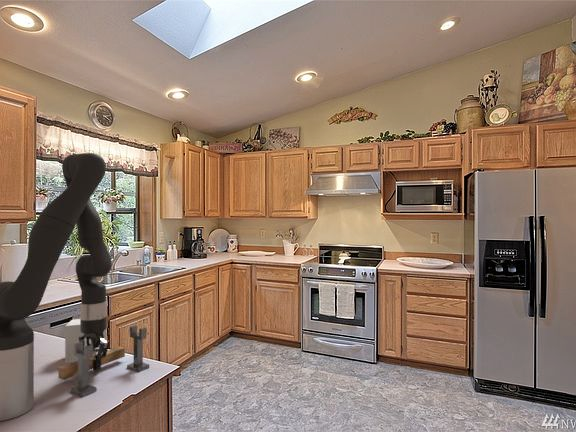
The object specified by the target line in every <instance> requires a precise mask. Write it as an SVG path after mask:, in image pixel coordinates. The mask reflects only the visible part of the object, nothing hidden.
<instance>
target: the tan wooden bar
mask: <svg viewBox="0 0 576 432" xmlns="http://www.w3.org/2000/svg"><path fill="white" fill-rule="evenodd" d="M102 354H103V353H102ZM96 355H97V353H96ZM124 357H126V348H125V347H122V346H116V347H114V348H111V349H108V350H107V354H106V356H105V357H103V358H101V367H102V366H103V365H106V364H109V363H111V362H114V361H117V360H119V359H122V358H124ZM91 370H93V357H92V358H90V359H89V371H91ZM57 376H58V379H61V380H63V381H64V380H67V379H70V378H73V377H75V376H78V361H76V362H72V363H67V364H65V365H63V366H60V367H58V375H57Z"/></svg>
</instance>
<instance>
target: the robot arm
mask: <svg viewBox="0 0 576 432" xmlns="http://www.w3.org/2000/svg"><path fill="white" fill-rule="evenodd" d="M61 168H62V169H61V170H62V175H63V179H64V181H65V185H66V188H65V189H64V190H63V192H62V193H60V194H59V195H57V197H55V199H53V200H52V201H51V202H50V203H49V204H47V205H46V206H45V207H44V208H43V209H42V211H41V212H40V213H39V215H38V217H37V218H36V220H35V222H34V224H33V225H32V227H31V229H30V232H29V235H28V240H27V241H28V242H27V243H28V244H27V256H26V257H27V258H26V261H25V263H24V265H23V268H22V269H21V271H20V273H19V274H18V276H17V277H16V279H15V280H14V281H1V282H0V422H1V421H7V420H11V419H15V418H17V417H20V416H22V415H24V414H26V413H27V412H29V411H31V410H32V409H33V407H34V405H35V404H34V403H35V401H34V399H35V395H34V394H35V393H34V392H35V391H34V390H35V389H34V385H35V382H34V381H35V380H34V379H35V377H34V375H35V374H34V373H35V372H34V369H35V365H34V364H35V363H34V362H35V361H34V360H35V358H34V357H35V356H34V354H35V346H34V345H35V333H34V330H33V329H32V327H30V326H29V324H27V321H26V319H27V318H28V317H30V316H31V315H34V313H35V311H36V310H37V309H38V308H39V306H40V304H41V302H42V300H43V297H44V294H45V291H46V289H47V287H48V284H49V281H50V278H51V277H52V276H51V275H52V273H53V272H54V269H55V267H56V265H57V263H58V261H59V259H60V257H61V255H62V252H63V251H64V248H65V246H66V245H67V243H68V242H69V239H70V237H71V235H72V233H73V232H74V229H75V228H76V230H77V239H78V240H77V241H78V244H79V247H80V248H82V249H84V250H86V251H88V253H89V254H83V255H81V256H80V257H79V258H78V259H77V262H76V264H75V275H76V278H77V281H78V285H79V288H80V290H81V300H80V301H81V303H80V304H81V305H80V314H79V317H80V318H79V319H80V331H81V333H84V335H83V336H80V337H79V342H83V351H84V347H85V346H88V345H93V369H92V371H93V372H98V371H100V370H101V369H102V366H101V358H103V357H105V356H106V354H107V351H108V350H109V346H110V344H111V342H110V340H105V335H104V331H105V330H107V328H108V322H107V321H108V306H107V287H106V284H104V283H102V282H99V280H98V279H97V277H98V278H101V277H105V276H107V275H109V274H110V272H111V269H112V257H111V254H110V252H109V250H108V247H107V245H106V243H105V241H104V232H103V231H104V230H103V224H102V220H101V217H100V214H99V213H98V211H97V209H96V207H95V206H94V203H93V202H92V200H91V197H92V195H93V194H94V192H95V191H96V189H97V188H98V187H99V185H100V184H101V182H102V180H103V179H104V177H105V174H106V169H107V164H106V161H105V159H104V158H103V157H102V155H100V154H98V153H93V152H84V153H74V154H69V155H67V156H66V157H65V158H64V159H63V161H62V166H61ZM102 353H103V354H102ZM96 354H97V355H96Z"/></svg>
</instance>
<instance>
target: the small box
mask: <svg viewBox="0 0 576 432" xmlns="http://www.w3.org/2000/svg"><path fill="white" fill-rule="evenodd" d="M64 335H65V336H64V340H65V341H64V345H65V346H64V352H65V354H64V355H65V356H64V358H65V361H64V363H65V364H71V363H73V362H76V361H78V357H76V356H74V344H75V343H78V342H79V337H80V336H83V335H84V333H81V331H80V318H77V319H75V318H74V319H71V320H69V322H68V323H67V324H65V325H64Z"/></svg>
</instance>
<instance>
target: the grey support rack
mask: <svg viewBox="0 0 576 432" xmlns="http://www.w3.org/2000/svg"><path fill="white" fill-rule="evenodd" d="M138 330H139V332H138ZM129 338H132V339H133V362H131V363H129V364H127V365H126V369H128V370H131V371H134V372H137V373H139V372H143V371H144V370H146V369H147V370H148V369H149V368H150V364H149V363H146V362H144V361H143V359H144V357H143V355H144V354H143V351H144V350H143V349H144V345H143V344H144V343H143V341H144V340H146V339H147V327H145V326H144V327H141V328H139V329H138V325H137V324H134V325H131V326H129ZM74 356H76V357H78V375H77V385H76V386H74V387H71V388H70V393H73V394H74V395H77V396H79V397H82V398H84V397H87V396H88V395H91V394H93V393H95V392H97V390H98V389H97V386H94V385H91V384H90V370H89V359H90V358H92V357H93V345H88V346H85V347H84V351H83V342H78V343H75V344H74Z"/></svg>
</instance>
